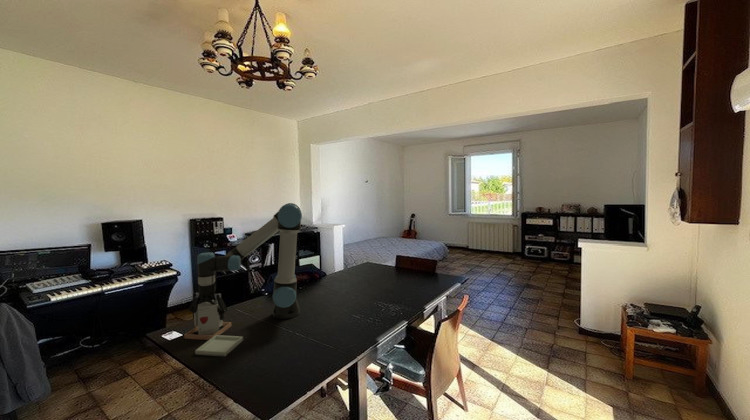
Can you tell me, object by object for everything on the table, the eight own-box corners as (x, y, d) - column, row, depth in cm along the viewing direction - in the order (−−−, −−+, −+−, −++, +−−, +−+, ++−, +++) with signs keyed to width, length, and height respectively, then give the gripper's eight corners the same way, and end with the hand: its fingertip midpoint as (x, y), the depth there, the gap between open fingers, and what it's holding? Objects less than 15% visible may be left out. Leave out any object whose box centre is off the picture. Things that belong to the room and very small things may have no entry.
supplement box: (198, 337, 146) (196, 307, 145) (199, 330, 154) (197, 301, 153) (219, 333, 150) (217, 304, 149) (219, 326, 158) (217, 298, 157)
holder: (231, 326, 158) (231, 322, 158) (212, 340, 144) (212, 336, 143) (205, 324, 160) (205, 320, 160) (184, 338, 145) (184, 334, 145)
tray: (243, 340, 143) (242, 336, 143) (225, 356, 129) (225, 352, 129) (215, 338, 145) (215, 335, 145) (195, 354, 131) (195, 350, 131)
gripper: (233, 282, 152) (235, 323, 154) (190, 280, 155) (192, 320, 157) (224, 286, 145) (226, 330, 146) (179, 285, 148) (181, 327, 149)
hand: (208, 325), depth 152 cm, fingers closed on supplement box, 12 cm apart
